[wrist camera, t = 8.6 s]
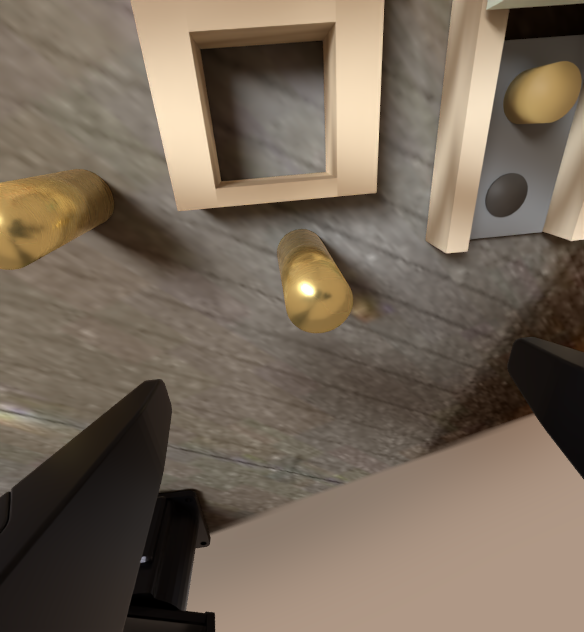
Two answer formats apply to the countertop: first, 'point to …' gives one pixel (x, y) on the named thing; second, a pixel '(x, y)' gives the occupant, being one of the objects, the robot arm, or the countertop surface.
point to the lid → (527, 3)
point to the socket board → (260, 29)
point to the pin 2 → (312, 283)
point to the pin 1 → (49, 213)
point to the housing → (507, 134)
